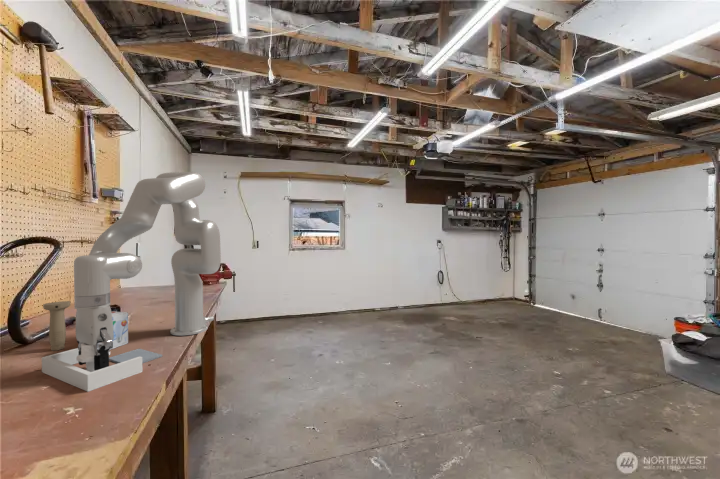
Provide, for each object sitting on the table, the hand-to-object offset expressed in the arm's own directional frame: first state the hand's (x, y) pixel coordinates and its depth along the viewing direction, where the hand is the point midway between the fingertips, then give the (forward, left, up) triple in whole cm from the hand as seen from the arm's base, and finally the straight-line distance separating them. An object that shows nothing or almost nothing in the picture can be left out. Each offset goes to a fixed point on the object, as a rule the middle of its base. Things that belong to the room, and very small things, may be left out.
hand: (93, 365), depth 88 cm
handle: (-4, -30, -2) cm, 30 cm away
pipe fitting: (0, 0, -2) cm, 2 cm away
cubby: (0, 0, -2) cm, 2 cm away
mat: (-11, 0, -2) cm, 11 cm away
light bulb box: (-12, -18, -2) cm, 21 cm away
